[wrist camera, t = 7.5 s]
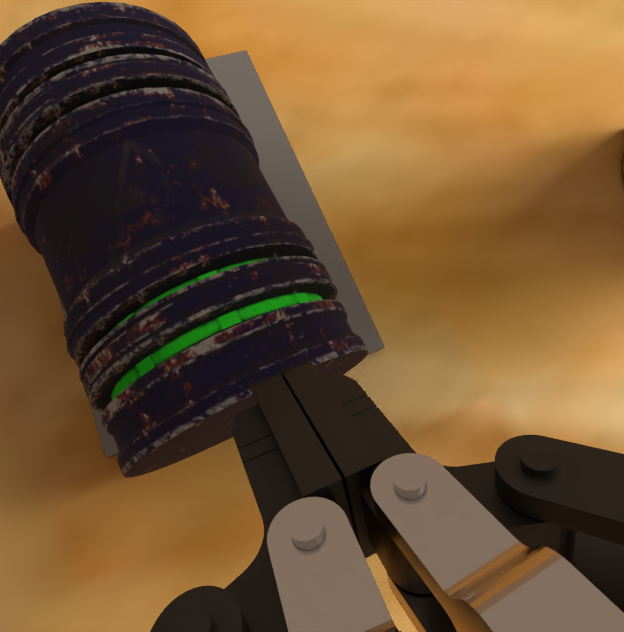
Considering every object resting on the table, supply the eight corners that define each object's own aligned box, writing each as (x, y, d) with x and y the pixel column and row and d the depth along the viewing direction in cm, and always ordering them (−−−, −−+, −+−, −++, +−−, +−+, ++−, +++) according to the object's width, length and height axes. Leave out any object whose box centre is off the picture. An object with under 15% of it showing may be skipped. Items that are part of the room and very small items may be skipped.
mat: (5, 107, 26) (2, 103, 26) (246, 54, 30) (246, 50, 29) (107, 457, 21) (105, 457, 21) (383, 348, 25) (384, 347, 24)
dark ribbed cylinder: (319, 394, 24) (198, 163, 28) (420, 316, 16) (228, -3, 19) (120, 491, 20) (4, 198, 23) (114, 454, 11) (-68, 1, 15)
